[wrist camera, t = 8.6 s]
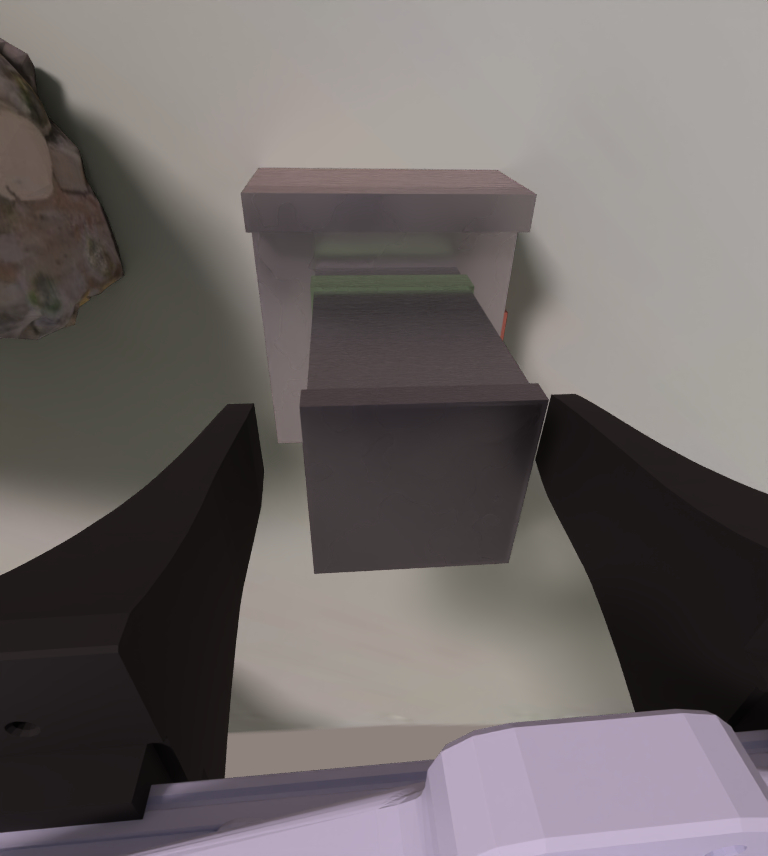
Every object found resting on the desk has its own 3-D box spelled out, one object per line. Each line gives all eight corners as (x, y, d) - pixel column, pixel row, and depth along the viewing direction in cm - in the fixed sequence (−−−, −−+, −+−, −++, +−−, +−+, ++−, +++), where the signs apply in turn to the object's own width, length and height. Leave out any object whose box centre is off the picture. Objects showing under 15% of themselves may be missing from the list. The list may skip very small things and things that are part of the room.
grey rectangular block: (446, 389, 19) (508, 563, 12) (320, 392, 18) (314, 573, 12) (459, 263, 16) (548, 399, 9) (312, 264, 16) (299, 406, 9)
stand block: (470, 395, 22) (493, 451, 19) (284, 400, 22) (275, 459, 19) (502, 170, 17) (542, 194, 14) (258, 168, 17) (240, 192, 13)
